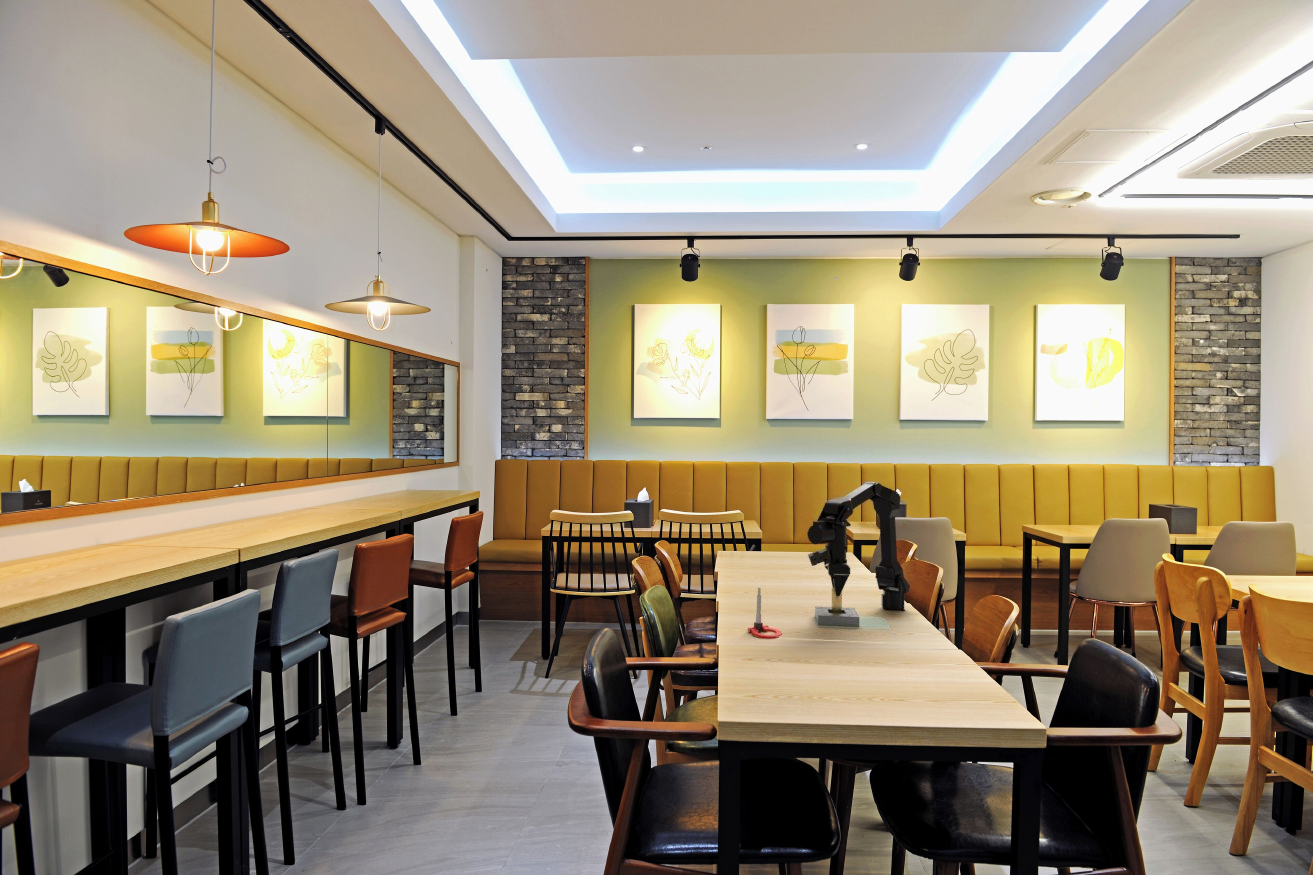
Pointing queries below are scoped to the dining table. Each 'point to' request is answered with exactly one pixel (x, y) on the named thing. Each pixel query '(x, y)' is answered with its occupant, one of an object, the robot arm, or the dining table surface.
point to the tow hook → (759, 625)
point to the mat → (868, 623)
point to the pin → (836, 602)
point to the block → (836, 617)
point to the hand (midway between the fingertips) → (836, 592)
